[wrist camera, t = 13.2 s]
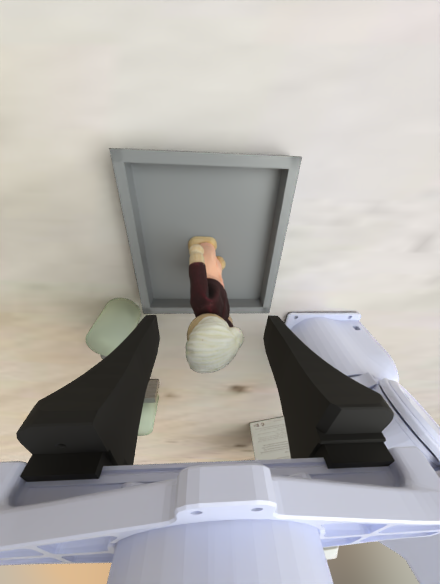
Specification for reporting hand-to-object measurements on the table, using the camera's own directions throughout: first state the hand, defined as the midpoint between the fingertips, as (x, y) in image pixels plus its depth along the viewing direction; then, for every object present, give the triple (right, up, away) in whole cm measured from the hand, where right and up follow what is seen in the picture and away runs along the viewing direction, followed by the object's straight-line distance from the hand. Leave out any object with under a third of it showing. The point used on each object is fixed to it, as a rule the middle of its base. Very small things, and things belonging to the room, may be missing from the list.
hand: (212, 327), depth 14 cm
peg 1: (-12, -15, +21) cm, 29 cm away
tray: (-1, +7, +7) cm, 10 cm away
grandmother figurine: (-1, +6, +8) cm, 10 cm away
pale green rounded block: (-11, 0, +12) cm, 16 cm away
